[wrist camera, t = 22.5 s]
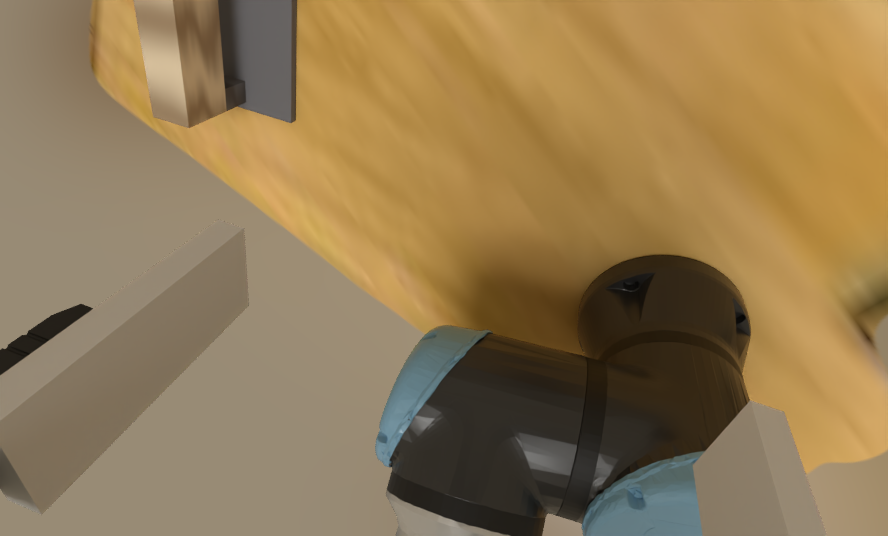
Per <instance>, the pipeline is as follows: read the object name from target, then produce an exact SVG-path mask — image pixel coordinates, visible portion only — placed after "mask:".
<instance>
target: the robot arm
mask: <svg viewBox="0 0 888 536" xmlns="http://www.w3.org/2000/svg"><path fill="white" fill-rule="evenodd" d="M248 306H249V298H248V283H247V268H246V251H245V235H244V228H242V227H239V226H237V225H234V224H230V223H228V222H225V221H222V220H219V219H218V220H217V221H215V222H214V223H212V224H211V225H210V226H208V227H207V228H205V229H204V230H203V231H201V232H200V233H198V234H197V235H196V236H194V237H193V238H191V239H190V240H189V241H187V242H186V243H184V244H183V245H182V246H180V247H179V248H178V249H176V250H175V251H173V252H172V253H171V254H169V255H168V256H166V257H165V258H164V259H162V260H161V261H159V262H158V263H156V264H155V265H154V266H152V267H151V268H150V269H148V270H147V271H145V272H144V273H143V274H141V275H140V276H138V277H137V278H136V279H134V280H133V281H132V282H130V283H129V284H127V285H126V286H125V287H123V288H122V289H120V290H119V291H118V292H116V293H115V294H113V295H112V296H110V297H109V298H108V299H106V300H105V301H104V302H102V303H101V304H99V305H98V306H97V307H95V308H94V309H93V308H91V307H88V306H85V305H83V304H79V305H77V306H75V307H72V308H69V309H67V310H64V311H61V312H59V313H56V314H54V315H51V316H50V317H49V318H47V319H46V320H44V321H43V322H41V323H40V324H38V325H37V326H35V327H34V328H32V329H31V330H29V331H28V333H27V335H22V336H20V337H19V338H17V339H16V340H15V341H13V342H11V343H10V344H9V345H8V347H7V348H6V349H1V350H0V489H1V490H2V492H3V493H4V495H5V496H6V498H7V499H8V500H9V501H12V502H14V503H16V504H18V505H21V506H23V507H25V508H28V509H30V510H32V511H34V512H37V513H39V514H43V513H44V512H45V511H46V510H47V509H48V508H49V507H50V506H51V505H52V504H53V503H54V502H55V501H56V500H57V499H58V498H59V497H60V496H61V495H62V494H63V493H64V492H65V491H66V490H67V489H68V488H69V487H70V486H71V485H72V484H73V483H74V482H75V481H76V480H77V479H78V478H79V477H80V475H82V474H83V473H84V472H85V471H86V469H88V468H89V466H91V465H92V464H93V462H94V461H95V460H96V459H97V458H98V457H99V456H100V455H101V454H102V453H103V452H104V451H105V450H106V449H107V448H108V447H109V446H110V445H111V444H112V443H113V442H114V441H115V440H116V439H117V438H118V437H119V436H120V435H121V434H122V433H123V432H124V431H125V430H126V429H127V428H128V427H129V426H130V425H131V424H132V423H133V422H134V421H135V420H136V419H137V418H138V417H139V416H140V415H141V414H142V413H143V412H144V411H145V410H146V409H147V408H148V407H149V406H150V405H151V404H152V403H153V402H154V401H155V400H156V399H157V398H158V397H159V396H160V395H161V394H162V393H163V392H164V391H165V390H166V389H167V387H169V386H170V385H171V384H172V383H173V382H174V380H176V379H177V378H178V377H179V376H180V374H182V373H183V372H184V371H185V370H186V369H187V368H188V367H189V365H190V364H191V363H192V362H193V361H194V360H195V359H196V358H197V357H198V356H199V355H200V354H201V353H202V352H203V351H204V350H205V349H206V348H207V347H208V346H209V345H210V344H211V343H212V342H213V341H214V340H215V339H216V338H217V337H218V336H219V335H220V334H221V333H222V332H223V331H224V330H225V329H226V328H227V327H228V326H229V325H230V324H231V323H232V322H233V321H234V320H235V319H236V318H237V317H238V316H239V315H240V314H241V313H242V312H243V311H244V310H245V309H246V308H247V307H248ZM577 330H578V337H579V342H580V345H581V348H582V350H583V352H584V354H585V356H582V355H577V354H573V353H569V352H564V351H560V350H556V349H551V348H547V347H543V346H539V345H535V344H531V343H527V342H523V341H519V340H515V339H511V338H507V337H503V336H499V335H495V334H493V332H492V331H490V330H483V331H478V330H473V329H467V328H462V327H457V326H451V325H443V326H439V327H436V328H434V329H432V330H431V331H429V332H428V333H427V334H426V335H425V336H424V337H423V338H422V339H421V340H420V342H419V343H418V344H417V345H416V346H415V348H414V349H413V351H412V352H411V354H410V355H409V357H408V359H407V360H406V362H405V364H404V366H403V368H402V369H401V371H400V373H399V375H398V377H397V379H396V382H395V384H394V386H393V389H392V391H391V393H390V396H389V398H388V401H387V403H386V406H385V408H384V411H383V415H382V418H381V421H380V431H379V434H378V436H377V439H376V446H375V451H376V455H377V458H378V459H379V460H380V461H382V462H383V464H384V465H385V466H387V467H392V473H391V476H390V480H389V484H388V487H387V491H386V496H387V498H388V500H389V502H390V504H391V506H392V508H393V510H394V512H395V514H396V516H397V520H398V529H397V532H396V536H542V533H543V528H544V523H545V517H546V515H547V514H548V513H549V514H553V515H556V516H560V517H563V518H566V519H570V520H573V521H575V522H579V523H581V524H582V530H583V536H827V534H826V531H825V528H824V525H823V522H822V519H821V516H820V514H819V511H818V508H817V505H816V502H815V500H814V496H813V494H812V491H811V488H810V485H809V482H808V479H807V476H806V473H805V471H804V468H803V465H802V462H801V459H800V456H799V453H798V451H797V448H796V445H795V442H794V439H793V436H792V433H791V430H790V428H789V425H788V422H787V419H786V416H785V413H784V412H783V411H780V410H777V409H774V408H771V407H768V406H765V405H762V404H759V403H756V402H753V401H750V400H749V397H748V393H747V390H746V387H745V383H744V380H743V376H742V372H743V367H744V363H745V359H746V355H747V350H748V346H749V342H750V336H751V327H750V320H749V316H748V312H747V309H746V307H745V304H744V301H743V298H742V296H741V294H740V292H739V291H738V289H737V288H736V287H735V285H734V284H733V283H732V282H731V281H730V280H729V279H728V278H727V277H726V276H724V275H723V274H722V273H720V272H719V271H717V270H716V269H714V268H712V267H710V266H708V265H706V264H704V263H701V262H699V261H696V260H692V259H688V258H684V257H677V256H664V255H661V256H647V257H641V258H636V259H632V260H629V261H626V262H623V263H621V264H618V265H616V266H614V267H612V268H611V269H609V270H607V271H606V272H604V273H603V274H601V275H600V276H599V277H598V278H597V279H596V280H595V281H594V282H593V283H592V284H591V285H590V286H589V288H588V289H587V290H586V292H585V294H584V296H583V298H582V300H581V303H580V307H579V315H578V327H577Z"/></svg>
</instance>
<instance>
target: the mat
mask: <svg viewBox="0 0 888 536" xmlns="http://www.w3.org/2000/svg"><path fill="white" fill-rule="evenodd" d="M218 8H219V21H220V33H221V46H222V59H223V71H224V75H226V76H229V77H233V78H236V79H240V80H243V81H245V89H246V102H245V103H243V104H241V105H239V106H238V107H241V108H244V109H247V110H250V111H254V112H257V113H260V114H263V115H267V116H270V117H273V118H276V119H280V120H283V121H286V122H289V123H292V122H294V121H295V110H296V8H297V0H218Z"/></svg>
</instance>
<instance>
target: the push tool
mask: <svg viewBox="0 0 888 536" xmlns="http://www.w3.org/2000/svg"><path fill="white" fill-rule="evenodd" d="M134 6H135V12H136V18H137V24H138V30H139V35H140V41H141V47H142V53H143V59H144V65H145V71H146V77H147V82H148V88H149V94H150V100H151V106H152V112H153V117H155V118H158V119H162V120H165V121H168V122H171V123H174V124H177V125H181V126H184V127H187V128H190V127H193V126H195V125H197V124H199V123H201V122H204V121H206V120H208V119H210V118H212V117H215V116H217V115H219V114H221V113H223V112H226V111H228V110H230V109H232V108H234V107H237V106H239V105H241V104H243V103H245V102H246V89H245V81H243V80H240V79H236V78H233V77H229V76H226V75H224V71H223V59H222V46H221V33H220V21H219V8H218V0H134Z"/></svg>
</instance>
